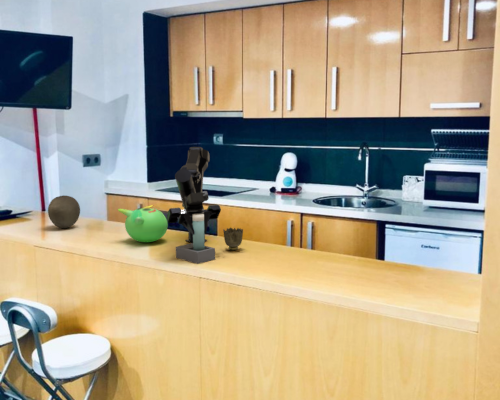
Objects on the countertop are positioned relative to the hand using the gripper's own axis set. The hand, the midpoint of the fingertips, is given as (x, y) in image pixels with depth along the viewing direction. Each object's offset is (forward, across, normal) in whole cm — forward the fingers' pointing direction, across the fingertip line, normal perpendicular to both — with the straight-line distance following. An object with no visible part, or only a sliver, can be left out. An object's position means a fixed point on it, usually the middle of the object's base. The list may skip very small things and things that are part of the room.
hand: (199, 233), depth 185 cm
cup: (+1, +16, +13) cm, 21 cm away
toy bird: (-19, -11, +33) cm, 40 cm away
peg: (+4, 0, +6) cm, 7 cm away
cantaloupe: (-49, -38, +64) cm, 89 cm away
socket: (+5, -1, +9) cm, 10 cm away
